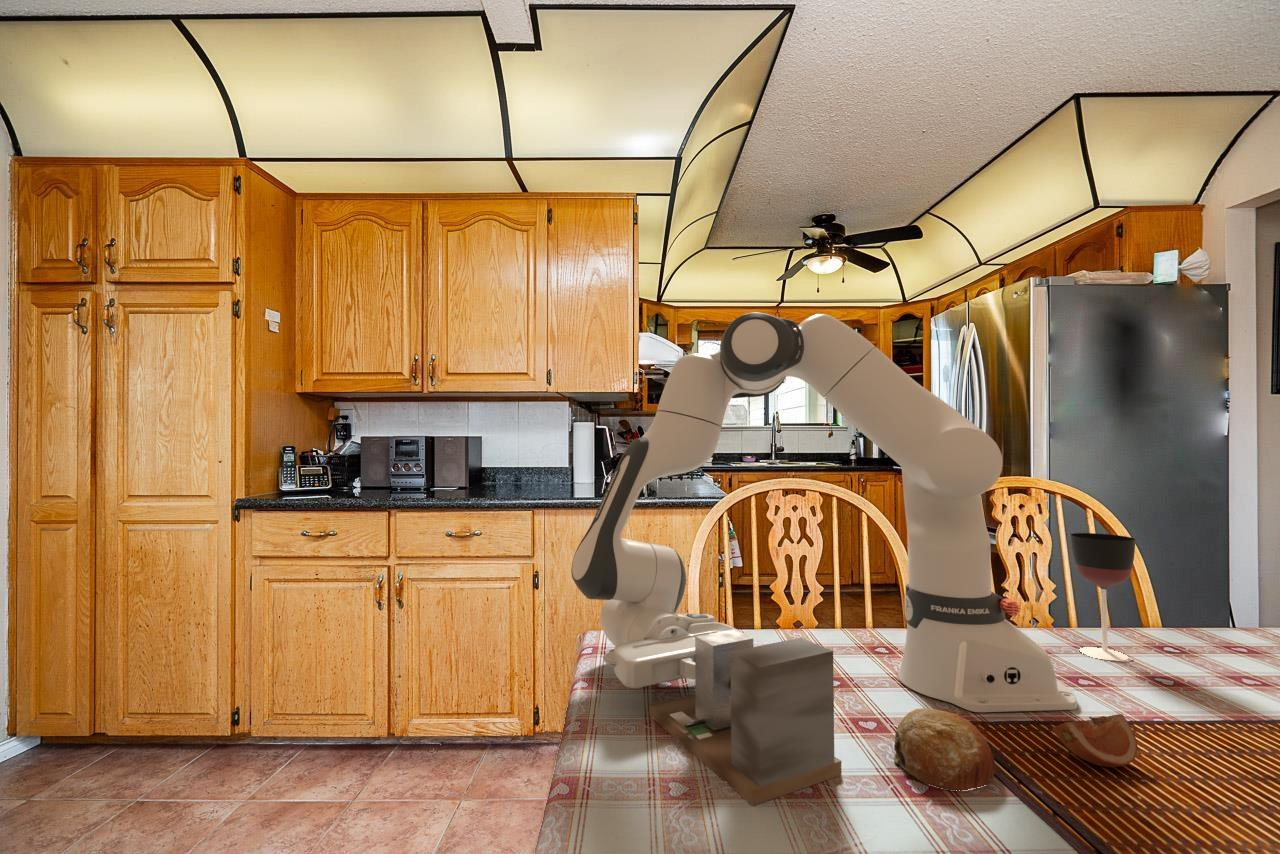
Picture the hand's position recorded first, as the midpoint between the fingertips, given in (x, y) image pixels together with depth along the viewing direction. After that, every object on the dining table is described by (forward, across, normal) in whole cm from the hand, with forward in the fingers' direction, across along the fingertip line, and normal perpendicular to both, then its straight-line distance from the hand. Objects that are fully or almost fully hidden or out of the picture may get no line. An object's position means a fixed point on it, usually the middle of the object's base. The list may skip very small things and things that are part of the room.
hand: (715, 675), depth 75 cm
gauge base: (+4, 0, +6) cm, 8 cm away
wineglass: (+9, +74, +7) cm, 74 cm away
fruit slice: (+26, +34, +7) cm, 43 cm away
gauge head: (+4, -1, +5) cm, 6 cm away
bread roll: (+19, +17, +7) cm, 27 cm away
